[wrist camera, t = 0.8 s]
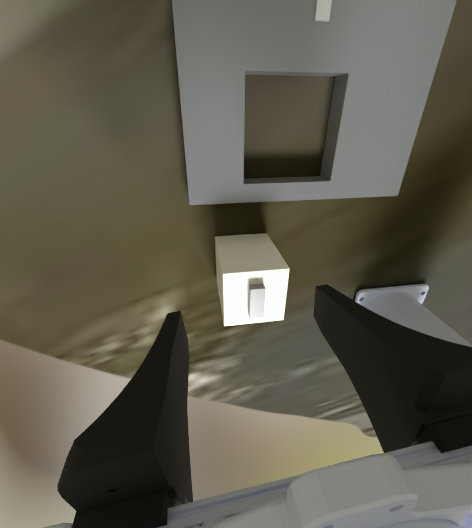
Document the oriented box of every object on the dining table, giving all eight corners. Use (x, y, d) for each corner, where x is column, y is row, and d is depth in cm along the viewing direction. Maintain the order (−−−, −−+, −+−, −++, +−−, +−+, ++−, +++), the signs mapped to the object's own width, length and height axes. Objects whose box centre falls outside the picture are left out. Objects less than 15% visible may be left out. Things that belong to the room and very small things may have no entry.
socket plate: (383, 190, 22) (399, 196, 21) (189, 197, 20) (189, 205, 18) (464, -110, 14) (502, -139, 13) (159, -148, 12) (155, -191, 10)
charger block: (263, 276, 25) (286, 325, 19) (216, 280, 24) (225, 332, 19) (266, 233, 23) (292, 273, 17) (214, 236, 22) (223, 278, 16)
